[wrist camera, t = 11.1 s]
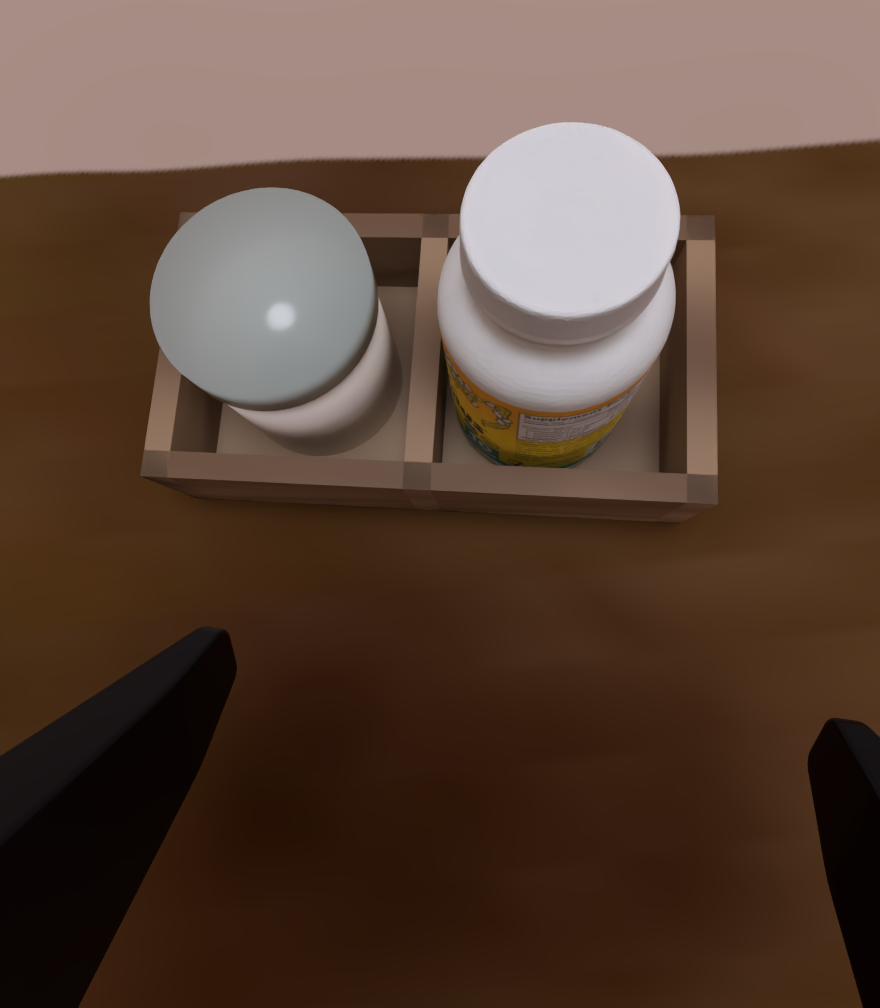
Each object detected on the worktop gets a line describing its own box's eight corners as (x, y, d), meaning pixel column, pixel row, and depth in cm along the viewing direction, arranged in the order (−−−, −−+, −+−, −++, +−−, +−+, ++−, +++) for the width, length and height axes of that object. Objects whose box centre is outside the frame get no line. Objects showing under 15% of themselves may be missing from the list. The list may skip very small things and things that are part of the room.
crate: (679, 523, 20) (717, 504, 17) (196, 498, 22) (140, 476, 18) (679, 279, 21) (714, 215, 18) (227, 272, 23) (180, 212, 20)
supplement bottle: (630, 464, 20) (755, 329, 10) (466, 489, 20) (444, 381, 11) (599, 311, 21) (687, 63, 11) (443, 338, 21) (404, 117, 12)
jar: (398, 462, 21) (361, 401, 15) (234, 455, 21) (134, 394, 15) (411, 303, 22) (380, 187, 16) (254, 301, 22) (166, 187, 16)
